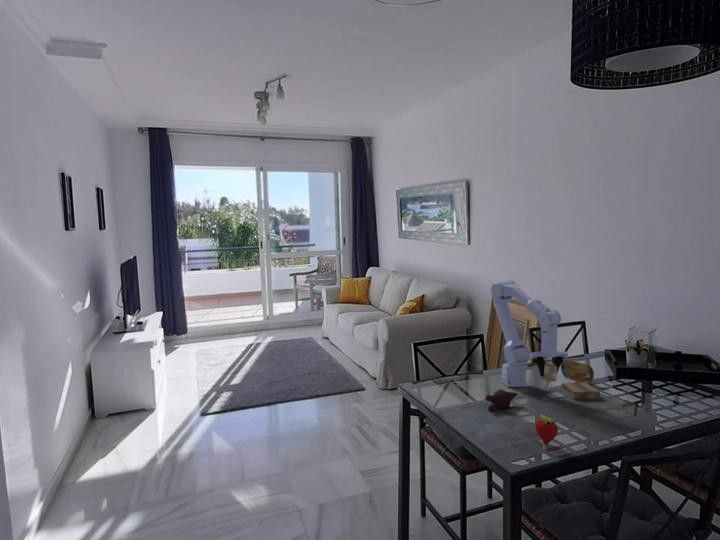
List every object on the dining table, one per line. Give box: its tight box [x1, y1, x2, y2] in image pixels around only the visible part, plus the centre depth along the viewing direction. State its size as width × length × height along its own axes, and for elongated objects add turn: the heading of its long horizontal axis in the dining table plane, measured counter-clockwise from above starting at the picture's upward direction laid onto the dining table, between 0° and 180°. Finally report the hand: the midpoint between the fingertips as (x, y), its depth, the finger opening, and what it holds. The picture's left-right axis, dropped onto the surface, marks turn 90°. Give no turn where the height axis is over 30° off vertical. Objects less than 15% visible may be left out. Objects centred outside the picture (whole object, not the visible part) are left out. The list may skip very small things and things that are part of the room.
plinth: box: [561, 382, 601, 400], centre depth 184 cm, size 10×10×3 cm
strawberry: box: [534, 413, 559, 445], centre depth 144 cm, size 6×8×10 cm
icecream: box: [485, 388, 519, 412], centre depth 173 cm, size 7×7×15 cm
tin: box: [560, 359, 595, 384], centre depth 200 cm, size 15×3×8 cm, turn 25°
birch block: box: [539, 362, 558, 383], centre depth 183 cm, size 4×4×6 cm
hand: (548, 375), depth 183 cm, fingers closed on birch block, 4 cm apart
